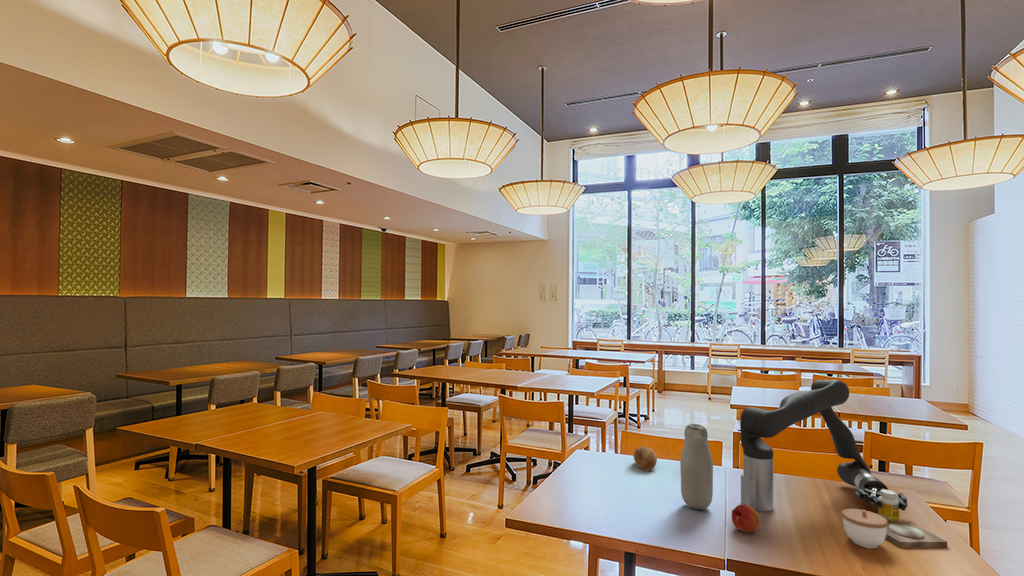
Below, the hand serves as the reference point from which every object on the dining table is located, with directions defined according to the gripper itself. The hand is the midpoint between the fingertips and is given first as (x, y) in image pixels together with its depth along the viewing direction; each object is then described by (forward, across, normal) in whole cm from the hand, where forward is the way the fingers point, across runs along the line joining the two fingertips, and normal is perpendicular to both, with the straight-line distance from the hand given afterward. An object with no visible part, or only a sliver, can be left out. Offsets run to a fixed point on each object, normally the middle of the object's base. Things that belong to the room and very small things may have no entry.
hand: (891, 506), depth 152 cm
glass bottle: (+7, -58, +6) cm, 59 cm away
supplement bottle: (-3, 0, +6) cm, 7 cm away
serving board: (+7, 0, +6) cm, 10 cm away
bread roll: (-30, -77, +6) cm, 83 cm away
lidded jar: (+17, -13, +6) cm, 22 cm away
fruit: (+20, -45, +6) cm, 50 cm away
